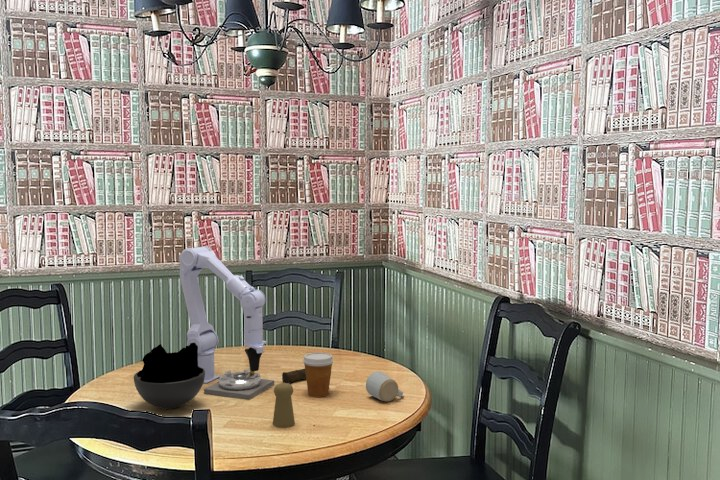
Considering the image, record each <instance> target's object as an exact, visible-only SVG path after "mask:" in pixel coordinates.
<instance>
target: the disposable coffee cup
mask: <svg viewBox="0 0 720 480" xmlns="http://www.w3.org/2000/svg"><path fill="white" fill-rule="evenodd" d="M302 362H303V364H304V369H305V372H306V378H305V379H306V386H307V395H308V396H310V397H315V398H321V397H326V396H328V395H329V391H330V385H331V384H330V382H331V375H332V366H333V362H334V358H333V355H332V354H331V353H328V352H310V353H306V354H305V355H304V356H303V359H302Z"/></svg>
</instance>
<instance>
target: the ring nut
mask: <svg viewBox="0 0 720 480" xmlns="http://www.w3.org/2000/svg"><path fill="white" fill-rule="evenodd" d="M224 373H225V374H222V375H220V376H219V378H218V382H219V386H220V387H221V388H224V389H228V390H245V389H251V388H254V387H257V386H259V385H260V383H261V379H262V378H261V373H260V372H256V371H251V370H250V365H249V369H243V371H234V372H232V371H231V370H227V371H225V372H224Z"/></svg>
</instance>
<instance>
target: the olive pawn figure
mask: <svg viewBox="0 0 720 480" xmlns="http://www.w3.org/2000/svg"><path fill="white" fill-rule="evenodd" d="M273 393H274V396H275V402H274V410H273V419H272V426H273V427H276V428H279V429H281V428H284V429H286V428H290V427H292V426H295V424H296V422H295V421H296V420H295V413H294V407H293V401H292V400H293V399H292V395H293V394H294V387H293V386H292V383H289V384H288V383H284V382H282V383H277V384H275V385H274V388H273Z"/></svg>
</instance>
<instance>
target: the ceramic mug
mask: <svg viewBox="0 0 720 480" xmlns="http://www.w3.org/2000/svg"><path fill="white" fill-rule="evenodd" d="M365 381H366V382H365V389H366V392H367V393H368V394H369V395H370V396H372V397H373V398H375V399H378V400H379V401H382V402H386V403H388V402H391V401H393V400H394V399H395V398H396V397H399V398H402V397H403V394H404V392H403V391H402V390H400V389H399V385H398V383H397V382H396V380H395V379H393V378H392V377H390V376H389V375H388V374H385V373H384V372H381V371H374V372H372V373H371V374H369V376H367V379H366V380H365Z"/></svg>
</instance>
